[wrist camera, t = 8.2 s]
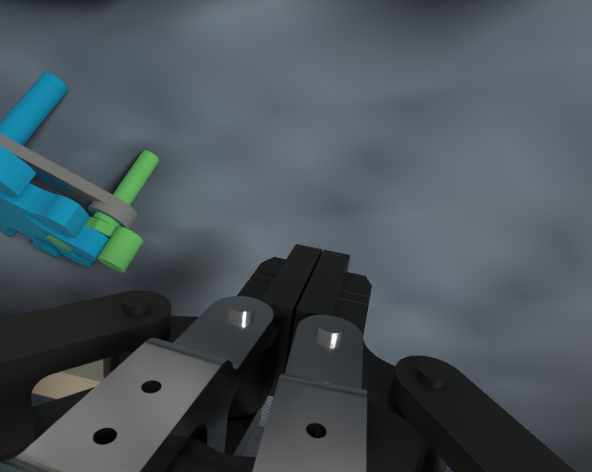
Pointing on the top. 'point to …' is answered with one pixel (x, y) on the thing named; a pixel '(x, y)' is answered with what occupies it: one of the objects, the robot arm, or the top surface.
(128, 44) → the top surface
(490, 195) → the top surface
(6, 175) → the gear
